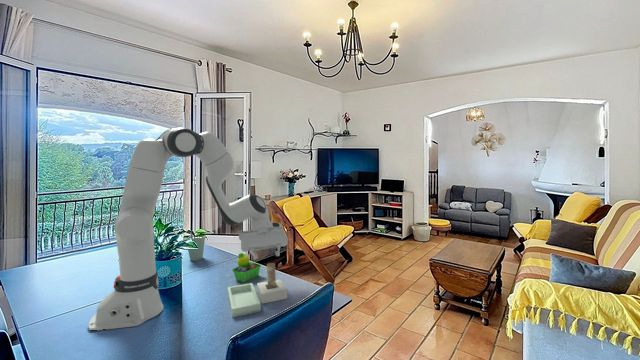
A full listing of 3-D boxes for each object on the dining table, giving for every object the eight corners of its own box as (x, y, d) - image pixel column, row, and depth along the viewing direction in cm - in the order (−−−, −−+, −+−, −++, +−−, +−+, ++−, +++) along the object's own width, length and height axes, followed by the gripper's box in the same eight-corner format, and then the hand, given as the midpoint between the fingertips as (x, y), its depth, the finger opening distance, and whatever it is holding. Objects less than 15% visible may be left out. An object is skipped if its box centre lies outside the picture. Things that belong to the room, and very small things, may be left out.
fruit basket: (242, 284, 132) (241, 259, 132) (230, 279, 138) (229, 255, 137) (262, 275, 142) (261, 252, 141) (249, 271, 147) (248, 248, 146)
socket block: (262, 303, 114) (261, 293, 114) (257, 292, 124) (257, 283, 123) (287, 298, 118) (287, 288, 118) (281, 288, 127) (280, 279, 127)
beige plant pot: (203, 254, 173) (202, 229, 172) (209, 259, 165) (208, 232, 164) (183, 258, 167) (182, 232, 166) (189, 263, 158) (187, 236, 157)
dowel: (269, 298, 119) (267, 266, 118) (267, 294, 122) (266, 263, 121) (276, 296, 120) (275, 265, 119) (275, 293, 123) (274, 262, 122)
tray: (232, 317, 105) (231, 309, 105) (227, 294, 123) (227, 287, 123) (260, 311, 109) (260, 303, 109) (252, 289, 126) (252, 282, 126)
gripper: (238, 228, 129) (242, 257, 121) (284, 223, 137) (291, 250, 128) (237, 235, 134) (241, 264, 125) (282, 230, 141) (288, 257, 133)
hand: (267, 257), depth 127 cm, fingers open, 8 cm apart
